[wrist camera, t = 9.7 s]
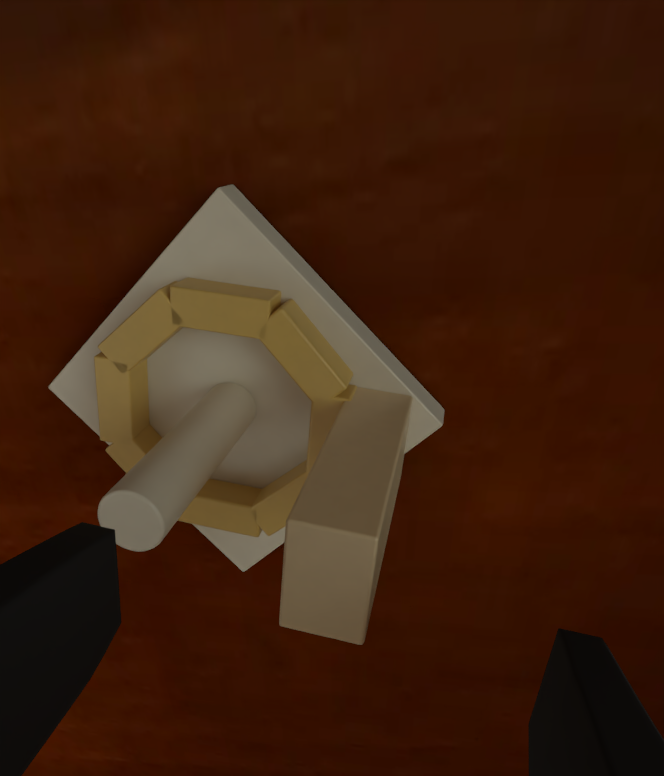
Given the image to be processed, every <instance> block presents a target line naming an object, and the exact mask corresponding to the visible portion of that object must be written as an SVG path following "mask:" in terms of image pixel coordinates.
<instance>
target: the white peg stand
mask: <svg viewBox="0 0 664 776" xmlns="http://www.w3.org/2000/svg"><path fill="white" fill-rule="evenodd" d="M188 277H189V278H196V279H203V280H210V281H217V282H223V283H230V284H237V285H244V286H251V287H258V288H265V289H272V290H279V291H281V305H282V304H284V303H285V302H286V301H287V300H289V299H293V300H294V301H295V302H296V303H297V305H298V306H299V307H300V308H301V310H302V311H303V312H304V313H305V314H306V316H307V317H308V318H309V319H310V321H311V322H312V323H313V324H314V326H315V327H316V328H317V329H318V330H319V332H320V333H321V334H322V335H323V337H324V338H325V339H326V340H327V341H328V343H329V344H330V345H331V346H332V348H333V349H334V350H335V351H336V353H337V354H338V355H339V356H340V357H341V359H342V360H343V361H344V362H345V364H346V365H347V366H348V367H349V368H350V370H351V371H352V372H353V377H352V379H351V381H350V383H349V384H351V385H356V386H357V387H360V388H366V389H372V390H378V391H384V392H390V393H396V394H402V395H408V396H412V398H413V401H412V407H411V414H410V420H409V427H408V433H407V440H406V446H405V453H406V452H408V451H409V450H410V449H412V448H413V447H414V446H416V445H417V444H419V443H420V442H421V441H423V440H424V439H425V438H427V437H428V436H429V435H431V434H432V433H434V432H435V431H436V430H438V429H439V428H440V427H442V425H443V419H444V411H445V410H444V408H443V407H442V406H441V405H440V404H439V403H438V402H437V401H436V400H435V399H434V398H433V397H432V396H431V395H430V394H429V392H428V391H427V390H426V389H425V388H424V387H423V386H422V385H421V384H420V383H419V382H418V381H417V380H416V379H415V378H414V376H413V375H412V374H411V373H410V372H409V371H408V370H407V369H406V368H405V367H404V366H403V365H402V364H401V363H400V362H399V360H398V359H397V358H396V357H395V356H394V355H393V354H392V353H391V352H390V351H389V350H388V349H387V348H386V347H385V346H384V345H383V343H382V342H381V341H380V340H379V339H378V338H377V337H376V336H375V335H374V334H373V333H372V332H371V331H370V330H369V329H368V327H367V326H366V325H365V324H364V323H363V322H362V321H361V320H360V319H359V318H358V317H357V316H356V315H355V314H354V313H353V311H352V310H351V309H350V308H349V307H348V306H347V305H346V304H345V303H344V302H343V301H342V300H341V299H340V298H339V297H338V296H337V294H336V293H335V292H334V291H333V290H332V289H331V288H330V287H329V286H328V285H327V284H326V283H325V282H324V281H323V280H322V278H321V277H320V276H319V275H318V274H317V273H316V272H315V271H314V270H313V269H312V268H311V267H310V266H309V265H308V264H307V262H306V261H305V260H304V259H303V258H302V257H301V256H300V255H299V254H298V253H297V252H296V251H295V250H294V249H293V248H292V247H291V245H290V244H289V243H288V242H287V241H286V240H285V239H284V238H283V237H282V236H281V235H280V234H279V233H278V232H277V231H276V229H275V228H274V227H273V226H272V225H271V224H270V223H269V222H268V221H267V220H266V219H265V218H264V217H263V216H262V215H261V213H260V212H259V211H258V210H257V209H256V208H255V207H254V206H253V205H252V204H251V203H250V202H249V201H248V200H247V199H246V198H245V196H244V195H243V194H242V193H241V192H240V191H239V190H238V189H237V188H236V187H235V186H234V185H233V184H231V185H227V186H223V187H219V188H217V189H216V190H215V191H214V193H213V194H212V195H211V196H210V197H209V198H208V200H207V201H206V202H205V203H204V204H203V206H202V207H201V208H200V209H199V210H198V211H197V213H196V214H195V215H194V216H193V217H192V218H191V220H190V221H189V222H188V223H187V224H186V225H185V227H184V228H183V229H182V230H181V231H180V232H179V234H178V235H177V236H176V237H175V238H174V240H173V241H172V242H171V243H170V244H169V245H168V247H167V248H166V249H165V250H164V251H163V252H162V254H161V255H160V256H159V257H158V258H157V259H156V261H155V262H154V263H153V264H152V265H151V266H150V268H149V269H148V270H147V271H146V272H145V274H144V275H143V276H142V277H141V278H140V279H139V281H138V282H137V283H136V284H135V285H134V286H133V288H132V289H131V290H130V291H129V292H128V293H127V295H126V296H125V297H124V298H123V299H122V301H121V302H120V303H119V304H118V305H117V306H116V308H115V309H114V310H113V311H112V312H111V313H110V315H109V316H108V317H107V318H106V319H105V320H104V322H103V323H102V324H101V325H100V326H99V327H98V329H97V330H96V331H95V332H94V333H93V335H92V336H91V337H90V338H89V339H88V340H87V342H86V343H85V344H84V345H83V346H82V347H81V349H80V350H79V351H78V352H77V353H76V354H75V356H74V357H73V358H72V359H71V360H70V361H69V363H68V364H67V365H66V366H65V367H64V369H63V370H62V371H61V372H60V373H59V374H58V376H57V377H56V378H55V379H54V380H53V381H52V383H51V384H50V385H49V386H48V388H49V389H50V390H51V391H52V392H53V393H54V394H55V395H56V396H57V397H59V398H60V399H61V400H62V401H63V402H64V403H65V404H66V405H67V406H68V407H69V408H70V409H71V410H72V411H73V412H74V413H75V414H77V415H78V416H79V417H80V418H81V419H82V420H83V421H84V422H85V423H86V424H87V425H88V426H89V427H90V428H91V429H92V430H93V431H94V432H96V433H97V434H98V435H99V436H100V431H99V418H98V405H97V391H96V378H95V365H94V356H96V355H97V354H99V353H101V350H100V349H99V348H98V345H99V344H100V343H101V342H102V341H103V340H104V339H106V338H107V337H108V336H109V335H110V334H111V333H112V332H113V331H114V330H115V329H116V328H117V327H118V326H120V325H121V324H122V323H123V322H124V321H125V320H126V319H127V318H128V317H129V316H130V315H131V314H132V313H134V312H135V311H136V310H137V309H138V308H139V307H140V306H141V305H142V304H143V303H144V302H145V301H146V300H148V299H149V298H150V297H151V296H152V295H153V294H154V293H155V292H156V291H157V290H158V289H160V288H162V287H164V286H166V285H168V284H170V283H172V282H174V281H177V282H179V281H181V280H183V279H185V278H188ZM147 370H148V396H149V422H150V425H151V426H152V427H153V428H154V429H155V430H156V431H157V432H158V434H159V435H160V436H161V437H162V439H161V440H160V441H159V442H158V443H157V444H156V445H155V446H154V447H153V448H152V449H151V450H150V451H149V452H148V453H147V454H146V455H145V456H144V457H143V458H142V459H141V460H140V461H139V462H138V463H137V464H136V465H135V466H134V467H133V468H132V469H131V470H130V471H129V472H128V473H127V474H126V475H125V476H124V477H123V478H122V479H121V480H120V481H119V482H118V483H117V484H116V485H115V486H114V487H113V488H112V489H111V490H110V491H109V492H108V493H107V494H106V495H105V496H104V497H103V498H102V499H101V501H100V503H99V507H98V519H99V523H100V525H101V527H105V528H110V529H114V530H115V538H116V544H117V545H119V546H121V547H123V548H125V549H128V550H132V551H147V550H150V549H152V548H154V547H156V546H157V545H159V544H160V543H161V541H162V540H163V539H164V537H165V536H166V535H167V533H168V532H169V531H170V529H171V528H172V527H173V526H174V524H175V523H176V522H177V520H178V519H179V518H180V516H181V515H182V514H183V512H184V511H185V510H186V508H187V507H188V506H189V504H190V503H191V502H192V501H193V499H194V498H195V497H196V495H197V494H198V493H199V491H200V490H201V489H202V487H203V486H204V485H205V483H206V482H207V481H208V479H209V478H210V479H215V480H220V481H225V482H230V483H235V484H240V485H245V486H250V487H255V488H260V489H263V488H264V487H266V486H267V485H269V484H270V483H272V482H273V481H275V480H276V479H278V478H279V477H281V476H282V475H284V474H285V473H287V472H289V471H290V470H292V469H293V468H295V467H296V466H298V465H299V464H301V463H302V462H304V461H305V460H307V451H308V438H309V426H310V413H311V400H310V399H309V398H308V397H307V396H306V394H305V393H304V392H303V391H302V390H301V388H300V387H299V386H298V385H297V384H296V382H295V381H294V380H293V379H292V378H291V377H290V375H289V374H288V373H287V372H286V371H285V369H284V368H283V367H282V366H281V365H280V363H279V362H278V361H277V360H276V359H275V357H274V356H273V355H272V354H271V353H270V351H269V350H268V349H267V348H266V347H265V346H264V344H263V343H262V342H261V341H260V340H259V339H255V338H249V337H242V336H236V335H230V334H223V333H217V332H211V331H204V330H198V329H192V328H185V327H183V328H182V329H181V330H180V331H178V332H177V333H176V334H175V335H174V336H173V337H171V338H170V339H169V340H168V341H167V342H166V343H165V344H163V345H162V346H161V347H160V348H159V349H158V350H157V351H155V352H154V353H153V354H152V355H151V356H150V357H148V358H147ZM105 442H106V441H105ZM106 443H107V444H108V445H109V446H110V445H111V444H112V443H111V442H106ZM405 453H404V454H405ZM193 525H194V526H195V527H196V528H197V529H198V530H199V531H200V532H201V533H202V534H203V535H205V536H206V537H207V538H208V539H209V540H210V541H211V542H212V543H213V544H214V545H215V546H216V547H217V548H218V549H219V550H220V551H221V552H223V553H224V554H225V555H226V556H227V557H228V558H229V559H230V560H231V561H232V562H233V563H234V564H235V565H236V566H237V567H238V568H239V569H240V570H242V571H243V572H244V571H246V570H247V569H249V568H250V567H251V566H253V565H254V564H255V563H257V562H258V561H259V560H261V559H262V558H264V557H265V556H266V555H268V554H269V553H270V552H272V551H273V550H274V549H276V548H277V547H279V546H280V545H281V544H283V543H284V542H285V528H286V526H285V527H284V528H282V529H280V530H279V531H277V532H275V533H274V534H272V535H271V536H268V535H267V534H266V533H265V532H264V531H263V530H262V532H261V534H260V535H259V537H252V536H248V535H243V534H238V533H234V532H229V531H224V530H219V529H215V528H210V527H205V526H201V525H196V524H193Z"/></svg>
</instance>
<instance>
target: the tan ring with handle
mask: <svg viewBox="0 0 664 776" xmlns="http://www.w3.org/2000/svg"><path fill="white" fill-rule="evenodd" d="M183 327H185V328H192V329H198V330H204V331H211V332H217V333H223V334H230V335H236V336H242V337H249V338H255V339H259V340H260V341H261V342H262V343H263V344H264V346H265V347H266V348H267V349H268V350H269V351H270V353H271V354H272V355H273V356H274V357H275V359H276V360H277V361H278V362H279V363H280V365H281V366H282V367H283V368H284V369H285V371H286V372H287V373H288V374H289V375H290V377H291V378H292V379H293V380H294V381H295V382H296V384H297V385H298V386H299V387H300V388H301V390H302V391H303V392H304V393H305V394H306V396H307V397H308V398H309V399H310V400H311V413H310V426H309V438H308V451H307V460H305V461H304V462H302V463H301V464H299V465H298V466H296V467H295V468H293V469H292V470H290V471H289V472H287V473H285V474H284V475H282V476H281V477H279V478H278V479H276V480H275V481H273V482H272V483H270V484H269V485H267V486H266V487H264V488H263V489H260V488H255V487H250V486H245V485H240V484H235V483H230V482H225V481H220V480H215V479H210V478H209V479H208V481H207V482H206V483H205V485H204V486H203V487H202V489H201V490H200V491H199V493H198V494H197V495H196V497H195V498H194V499H193V501H192V502H191V503H190V504H189V506H188V507H187V508H186V510H185V511H184V512H183V514H182V515H181V516H180V518H179V519H178V520H177V521H182V522H186V523H191V524H196V525H201V526H205V527H210V528H215V529H219V530H224V531H229V532H234V533H238V534H243V535H248V536H252V537H259V535H260V534H261V532H262V530H263V531H264V532H265V533H266V534H267V535H268V536H271V535H272V534H274V533H275V532H277V531H279V530H280V529H282V528H284V527H285V526H286V528H285V543H284V557H283V572H282V587H281V602H280V617H279V624H280V626H282V627H286V628H290V629H295V630H299V631H303V632H307V633H312V634H316V635H320V636H324V637H329V638H333V639H337V640H342V641H346V642H350V643H354V644H359V645H362V644H363V643H364V641H365V637H366V632H367V628H368V623H369V618H370V614H371V609H372V605H373V600H374V596H375V591H376V587H377V582H378V578H379V573H380V569H381V564H382V560H383V555H384V550H385V546H386V541H387V537H388V532H389V528H390V523H391V519H392V514H393V510H394V505H395V501H396V496H397V492H398V487H399V482H400V478H401V472H402V466H403V459H404V453H405V446H406V440H407V433H408V427H409V420H410V414H411V407H412V401H413V398H412V396H408V395H402V394H396V393H390V392H384V391H378V390H372V389H366V388H360V387H357V386H356V385H351V384H349V383H350V381H351V379H352V377H353V372H352V371H351V370H350V368H349V367H348V366H347V365H346V364H345V362H344V361H343V360H342V359H341V357H340V356H339V355H338V354H337V353H336V351H335V350H334V349H333V348H332V346H331V345H330V344H329V343H328V341H327V340H326V339H325V338H324V337H323V335H322V334H321V333H320V332H319V330H318V329H317V328H316V327H315V326H314V324H313V323H312V322H311V321H310V319H309V318H308V317H307V316H306V314H305V313H304V312H303V311H302V310H301V308H300V307H299V306H298V305H297V303H296V302H295V301H294V300H293V299H289V300H287V301H286V302H285V303H284V304H282V305H281V291H279V290H272V289H265V288H258V287H251V286H244V285H237V284H230V283H223V282H217V281H210V280H203V279H196V278H189V277H188V278H185V279H183V280H181V281H179V282H177V281H174V282H172V283H170V284H168V285H166V286H164V287H162V288H160V289H158V290H157V291H156V292H155V293H154V294H153V295H152V296H151V297H150V298H149V299H148V300H146V301H145V302H144V303H143V304H142V305H141V306H140V307H139V308H138V309H137V310H136V311H135V312H134V313H132V314H131V315H130V316H129V317H128V318H127V319H126V320H125V321H124V322H123V323H122V324H121V325H120V326H118V327H117V328H116V329H115V330H114V331H113V332H112V333H111V334H110V335H109V336H108V337H107V338H106V339H104V340H103V341H102V342H101V343H100V344H99V345H98V348H99V349H100V350H101V353H99V354H97V355H96V356H94V365H95V378H96V391H97V405H98V418H99V431H100V440H101V441H106V442H111V443H112V444H111V445H110V446H108V447H107V448H106V452H107V453H108V454H109V455H110V456H111V457H112V458H113V460H114V461H115V462H116V463H117V464H118V465H119V466H120V467H121V468H122V469H123V470H124V471H125V472H126V473H128V472H129V471H130V470H131V469H132V468H133V467H134V466H135V465H136V464H137V463H138V462H139V461H140V460H141V459H142V458H143V457H144V456H145V455H146V454H147V453H148V452H149V451H150V450H151V449H152V448H153V447H154V446H155V445H156V444H157V443H158V442H159V441H160V440H161V439H162V437H161V436H160V435H159V434H158V432H157V431H156V430H155V429H154V428H153V427H152V426H151V425H150V422H149V396H148V370H147V358H148V357H150V356H151V355H152V354H153V353H154V352H155V351H157V350H158V349H159V348H160V347H161V346H162V345H163V344H165V343H166V342H167V341H168V340H169V339H170V338H171V337H173V336H174V335H175V334H176V333H177V332H178V331H180V330H181V329H182V328H183Z"/></svg>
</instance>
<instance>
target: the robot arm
mask: <svg viewBox="0 0 664 776" xmlns="http://www.w3.org/2000/svg"><path fill="white" fill-rule="evenodd" d="M120 624H121V612H120V597H119V582H118V568H117V553H116V538H115V530H114V529H110V528H105V527H101V526H96V525H92V524H87V523H83V522H82V523H80V524H78V525H76V526H73V527H71V528H69V529H67V530H65V531H63V532H61V533H59V534H57V535H55V536H54V537H52V538H50V539H48V540H46V541H44V542H42V543H40V544H38V545H36V546H35V547H33V548H31V549H29V550H27V551H25V552H23V553H21V554H20V555H18V556H16V557H14V558H12V559H10V560H8V561H6V562H5V563H3V564H1V565H0V776H21V775H22V774H23V773H24V771H25V770H26V769H27V767H28V766H29V764H30V763H31V762H32V760H33V759H34V757H35V756H36V755H37V753H38V752H39V750H40V749H41V748H42V746H43V745H44V744H45V742H46V741H47V739H48V738H49V737H50V735H51V734H52V732H53V731H54V730H55V728H56V727H57V726H58V724H59V723H60V721H61V720H62V718H63V717H64V716H65V714H66V713H67V711H68V710H69V709H70V707H71V706H72V704H73V703H74V702H75V700H76V699H77V697H78V696H79V694H80V693H81V692H82V690H83V689H84V687H85V686H86V684H87V683H88V681H89V680H90V678H91V677H92V675H93V673H94V671H95V670H96V668H97V666H98V664H99V663H100V661H101V659H102V657H103V656H104V654H105V652H106V650H107V648H108V646H109V645H110V643H111V641H112V639H113V637H114V635H115V633H116V631H117V629H118V628H119V626H120ZM529 776H664V740H663V738H662V736H661V735H660V733H659V732H658V730H657V728H656V727H655V725H654V723H653V722H652V720H651V719H650V717H649V715H648V714H647V712H646V710H645V709H644V707H643V705H642V704H641V702H640V700H639V699H638V697H637V695H636V694H635V692H634V690H633V689H632V687H631V685H630V684H629V682H628V680H627V679H626V677H625V675H624V674H623V672H622V670H621V668H620V667H619V665H618V663H617V662H616V660H615V658H614V657H613V655H612V653H611V651H610V650H609V648H608V646H607V645H606V643H605V642H604V641H603V639H602V638H600V637H595V636H591V635H586V634H582V633H577V632H573V631H568V630H564V629H558V632H557V635H556V638H555V642H554V645H553V648H552V651H551V654H550V658H549V661H548V664H547V667H546V670H545V674H544V677H543V680H542V683H541V686H540V690H539V693H538V696H537V699H536V702H535V706H534V709H533V712H532V715H531V718H530V722H529Z"/></svg>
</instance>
